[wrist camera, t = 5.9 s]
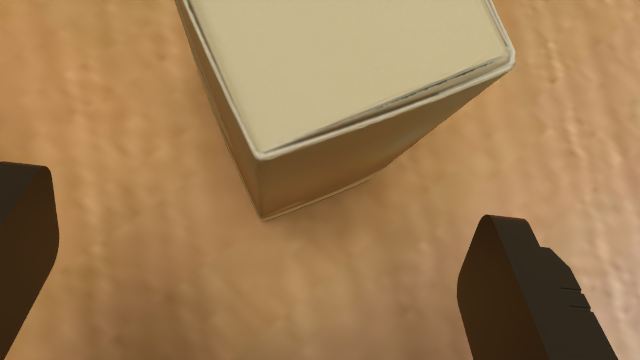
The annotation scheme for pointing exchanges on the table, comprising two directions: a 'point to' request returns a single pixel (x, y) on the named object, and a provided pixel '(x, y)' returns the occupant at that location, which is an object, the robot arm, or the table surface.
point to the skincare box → (336, 84)
